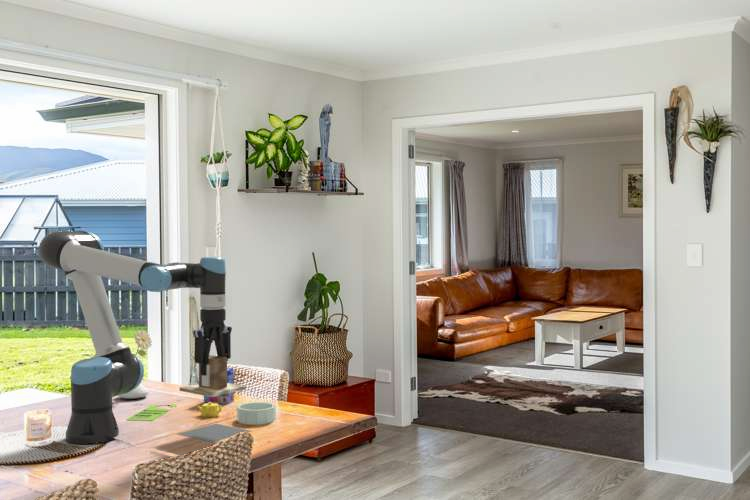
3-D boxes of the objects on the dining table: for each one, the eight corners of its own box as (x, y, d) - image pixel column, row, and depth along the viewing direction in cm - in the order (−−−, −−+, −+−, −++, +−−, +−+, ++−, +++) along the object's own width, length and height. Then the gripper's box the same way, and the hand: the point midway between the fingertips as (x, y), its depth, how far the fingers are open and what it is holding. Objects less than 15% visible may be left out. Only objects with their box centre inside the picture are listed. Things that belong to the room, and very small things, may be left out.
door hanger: (152, 422, 269) (180, 405, 293) (152, 420, 269) (180, 403, 293) (125, 421, 270) (155, 404, 295) (125, 419, 270) (155, 403, 295)
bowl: (256, 428, 258) (256, 412, 258) (229, 423, 265) (229, 407, 265) (282, 421, 268) (282, 405, 267) (256, 416, 275) (256, 400, 275)
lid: (211, 397, 240) (211, 363, 240) (179, 390, 249) (179, 357, 248) (245, 389, 252) (246, 356, 251) (214, 383, 260) (214, 352, 260)
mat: (212, 444, 239) (212, 442, 239) (176, 436, 249) (176, 433, 249) (251, 433, 252) (251, 430, 252) (216, 425, 262) (216, 423, 262)
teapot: (194, 420, 270) (194, 404, 270) (199, 416, 276) (199, 400, 276) (218, 420, 269) (218, 404, 269) (223, 416, 275) (222, 401, 275)
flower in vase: (125, 402, 297) (124, 333, 296) (111, 397, 305) (110, 330, 304) (158, 397, 306) (157, 330, 305) (144, 392, 314) (143, 327, 313)
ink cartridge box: (202, 403, 295) (202, 362, 295) (208, 399, 301) (208, 360, 300) (229, 404, 294) (228, 363, 293) (234, 400, 299) (234, 361, 299)
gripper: (198, 311, 240) (198, 390, 241) (243, 306, 254) (243, 381, 255) (181, 309, 244) (181, 387, 245) (226, 304, 259) (226, 378, 260)
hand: (212, 384), depth 250 cm, fingers closed on lid, 5 cm apart
